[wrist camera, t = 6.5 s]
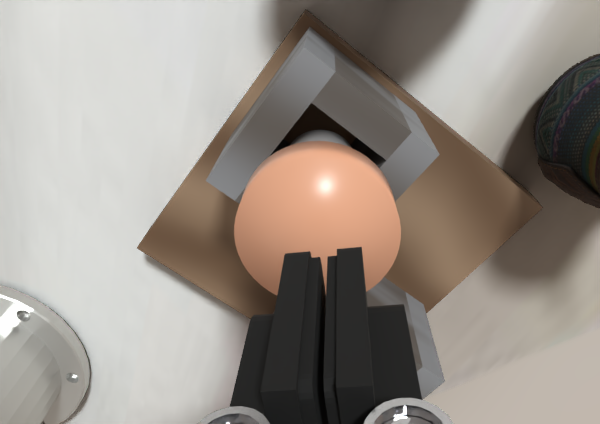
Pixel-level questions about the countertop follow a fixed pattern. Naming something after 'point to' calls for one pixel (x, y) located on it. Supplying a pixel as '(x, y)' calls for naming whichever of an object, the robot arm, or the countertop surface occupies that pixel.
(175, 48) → the countertop surface
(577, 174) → the mate gourd
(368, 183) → the orange rounded piece
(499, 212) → the board
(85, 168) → the countertop surface
